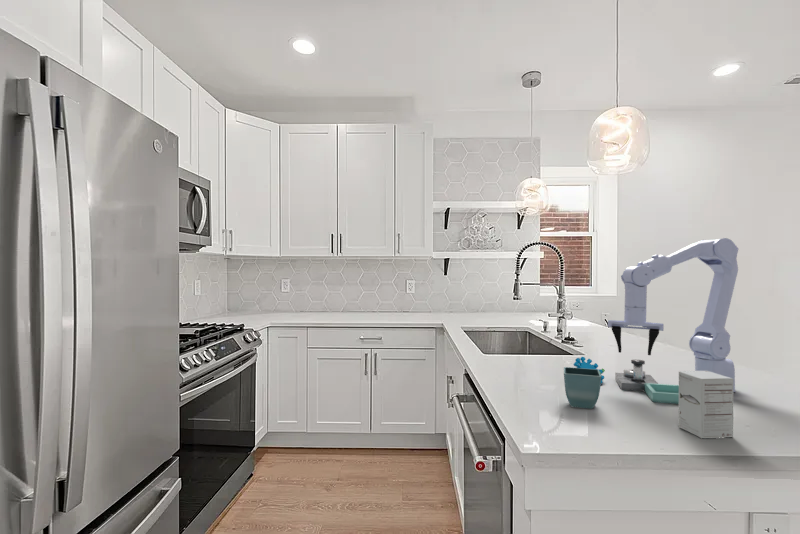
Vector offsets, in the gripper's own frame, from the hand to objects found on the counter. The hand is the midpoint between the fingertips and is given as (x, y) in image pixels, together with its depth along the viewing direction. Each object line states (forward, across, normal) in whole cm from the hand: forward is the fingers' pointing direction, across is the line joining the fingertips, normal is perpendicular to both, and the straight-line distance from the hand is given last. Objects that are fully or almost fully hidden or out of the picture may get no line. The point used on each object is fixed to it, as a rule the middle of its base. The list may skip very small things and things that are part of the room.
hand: (634, 353), depth 137 cm
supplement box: (+11, +14, -34) cm, 38 cm away
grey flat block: (+10, +1, +6) cm, 12 cm away
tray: (+10, +11, -6) cm, 16 cm away
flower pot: (+11, -12, -25) cm, 30 cm away
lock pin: (+10, +1, +3) cm, 11 cm away
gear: (+11, -12, +3) cm, 17 cm away
